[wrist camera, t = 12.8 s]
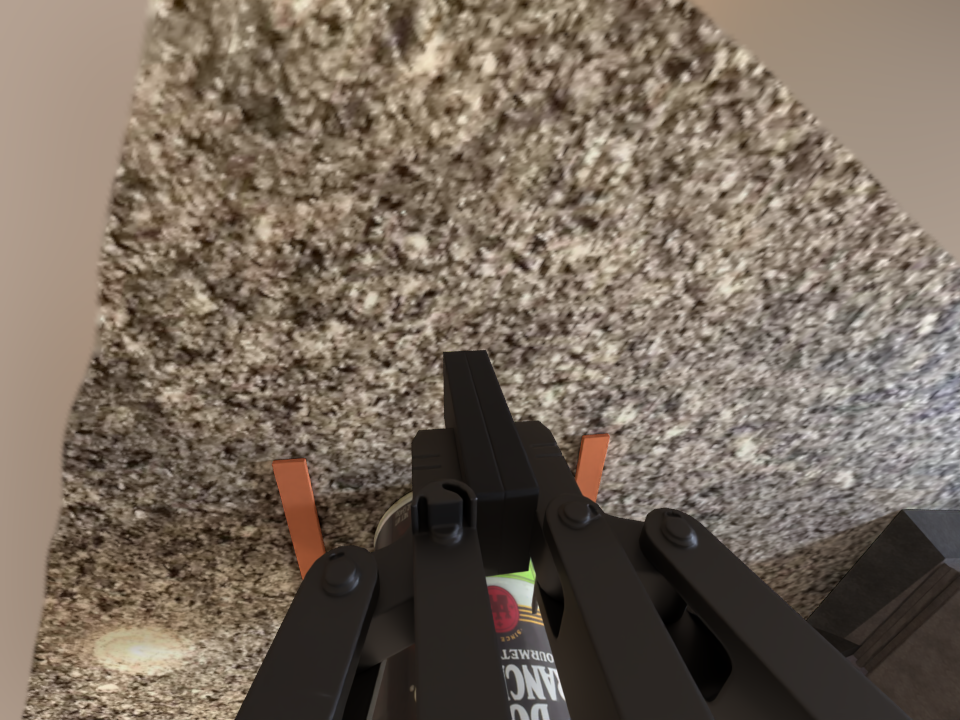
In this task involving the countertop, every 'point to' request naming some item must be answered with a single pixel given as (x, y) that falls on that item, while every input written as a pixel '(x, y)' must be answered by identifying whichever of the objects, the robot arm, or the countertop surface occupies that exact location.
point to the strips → (304, 513)
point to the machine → (904, 614)
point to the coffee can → (518, 635)
